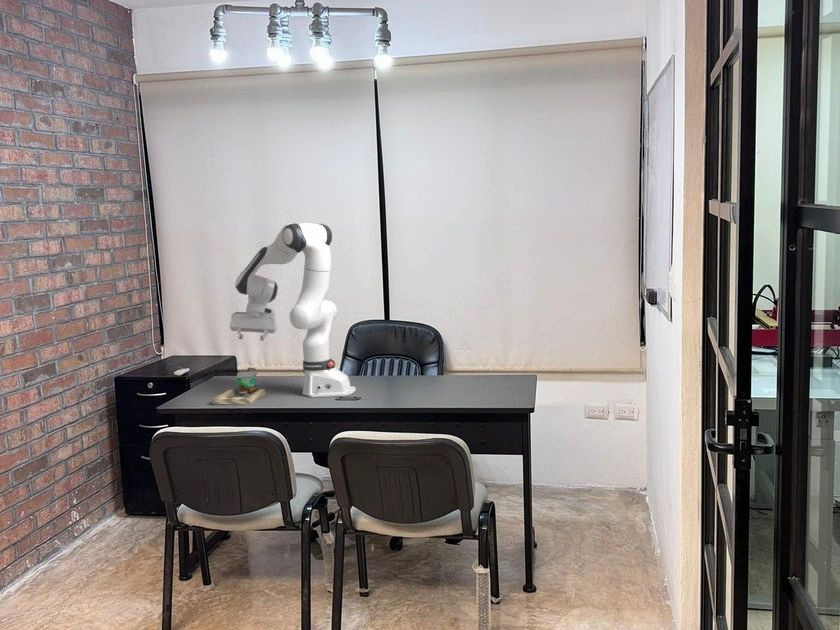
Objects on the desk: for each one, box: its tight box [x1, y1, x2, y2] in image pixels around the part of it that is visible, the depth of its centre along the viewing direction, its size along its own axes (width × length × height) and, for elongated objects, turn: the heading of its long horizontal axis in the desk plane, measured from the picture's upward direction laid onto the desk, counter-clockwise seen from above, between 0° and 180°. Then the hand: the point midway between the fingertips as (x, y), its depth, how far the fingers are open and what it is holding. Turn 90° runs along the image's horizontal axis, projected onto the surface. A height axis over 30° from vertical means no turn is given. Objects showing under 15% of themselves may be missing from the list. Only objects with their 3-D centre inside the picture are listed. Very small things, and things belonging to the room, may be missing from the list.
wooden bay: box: [211, 388, 266, 405], centre depth 340 cm, size 16×17×2 cm
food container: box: [236, 367, 258, 396], centre depth 352 cm, size 12×6×10 cm, turn 168°
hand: (251, 339), depth 359 cm, fingers open, 8 cm apart
